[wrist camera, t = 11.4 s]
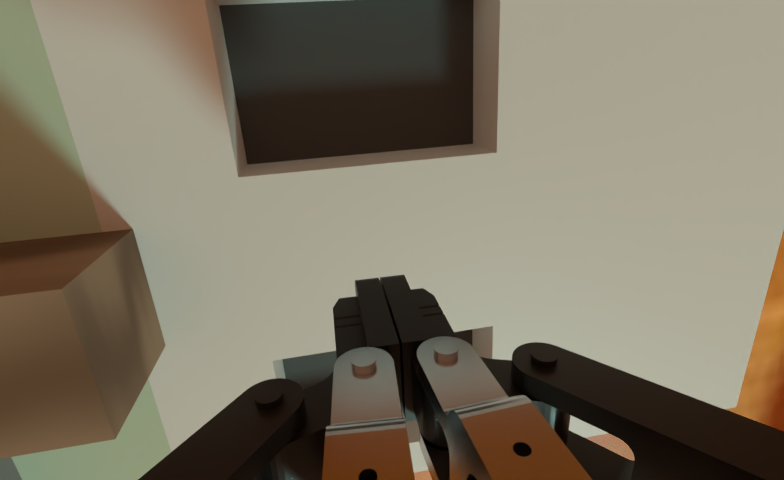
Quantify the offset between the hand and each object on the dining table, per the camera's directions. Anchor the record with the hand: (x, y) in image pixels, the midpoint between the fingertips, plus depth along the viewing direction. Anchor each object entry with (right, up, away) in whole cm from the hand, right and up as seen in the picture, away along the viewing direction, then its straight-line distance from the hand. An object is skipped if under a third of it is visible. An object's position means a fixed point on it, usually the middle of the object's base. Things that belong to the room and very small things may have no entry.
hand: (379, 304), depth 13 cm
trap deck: (0, +2, +8) cm, 8 cm away
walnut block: (-12, 0, +3) cm, 13 cm away
